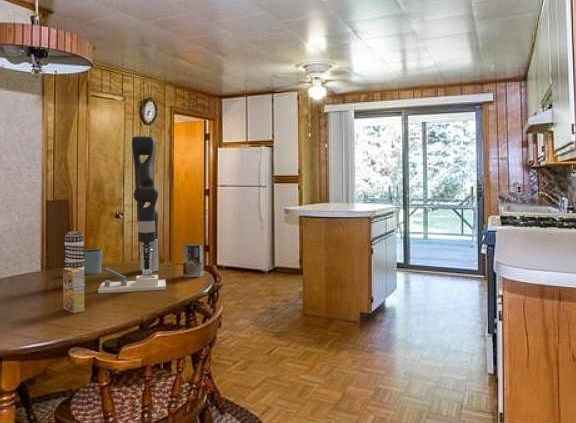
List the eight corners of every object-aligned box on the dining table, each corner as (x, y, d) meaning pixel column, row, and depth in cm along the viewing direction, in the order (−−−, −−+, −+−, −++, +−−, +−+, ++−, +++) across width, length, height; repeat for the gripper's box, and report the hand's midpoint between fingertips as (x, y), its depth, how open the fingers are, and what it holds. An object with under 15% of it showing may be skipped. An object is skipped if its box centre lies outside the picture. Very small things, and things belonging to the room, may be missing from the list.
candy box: (62, 309, 171) (62, 268, 170) (74, 307, 174) (73, 267, 174) (73, 313, 166) (73, 271, 165) (85, 311, 169) (84, 269, 168)
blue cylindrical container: (106, 272, 244) (106, 250, 243) (89, 275, 235) (88, 252, 234) (94, 270, 249) (94, 248, 248) (77, 273, 241) (77, 250, 240)
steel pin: (141, 274, 211) (141, 248, 210) (153, 274, 212) (152, 248, 212) (140, 276, 206) (140, 250, 205) (153, 276, 207) (152, 249, 207)
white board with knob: (102, 285, 211) (102, 276, 211) (165, 282, 219) (165, 273, 218) (98, 293, 197) (97, 282, 197) (165, 289, 204) (165, 279, 204)
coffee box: (203, 274, 238) (203, 244, 237) (200, 277, 232) (200, 245, 231) (186, 274, 239) (186, 243, 238) (182, 277, 233) (182, 245, 232)
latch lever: (104, 269, 206) (106, 267, 206) (124, 279, 208) (126, 276, 208) (103, 271, 202) (105, 268, 202) (124, 281, 205) (125, 278, 205)
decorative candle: (59, 287, 208) (57, 232, 206) (75, 283, 216) (74, 230, 215) (74, 289, 205) (73, 233, 203) (90, 284, 213) (89, 231, 212)
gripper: (138, 229, 214) (139, 266, 215) (137, 232, 200) (137, 271, 201) (155, 229, 216) (155, 265, 217) (155, 232, 202) (155, 270, 203)
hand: (147, 268), depth 209 cm, fingers closed on steel pin, 4 cm apart
